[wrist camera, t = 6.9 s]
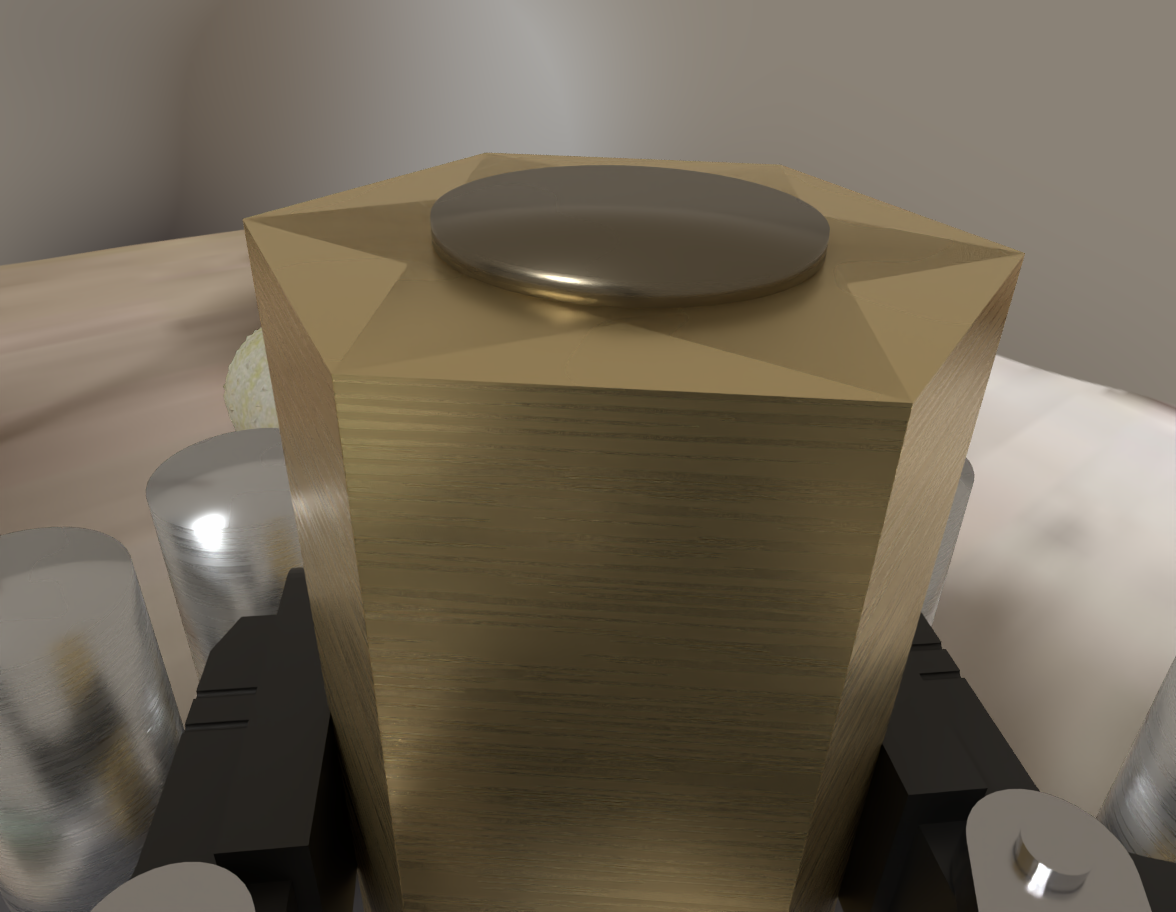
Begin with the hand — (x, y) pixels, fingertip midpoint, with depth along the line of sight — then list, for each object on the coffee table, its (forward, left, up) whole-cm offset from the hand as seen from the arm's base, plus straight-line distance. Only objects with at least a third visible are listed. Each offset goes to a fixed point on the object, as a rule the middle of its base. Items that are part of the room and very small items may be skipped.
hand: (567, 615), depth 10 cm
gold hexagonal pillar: (+2, -2, -7) cm, 7 cm away
